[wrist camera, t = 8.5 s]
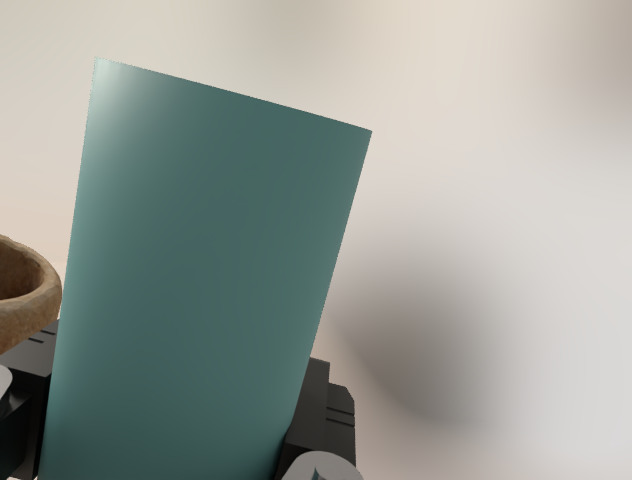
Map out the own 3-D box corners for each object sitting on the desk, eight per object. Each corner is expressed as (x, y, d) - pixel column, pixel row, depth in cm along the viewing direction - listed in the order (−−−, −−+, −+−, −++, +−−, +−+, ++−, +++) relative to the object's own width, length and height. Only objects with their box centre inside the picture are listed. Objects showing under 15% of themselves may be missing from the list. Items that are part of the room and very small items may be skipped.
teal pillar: (44, 929, 8) (208, 83, 5) (-27, 689, 11) (47, 45, 8) (245, 726, 11) (421, 144, 8) (152, 581, 14) (257, 102, 11)
